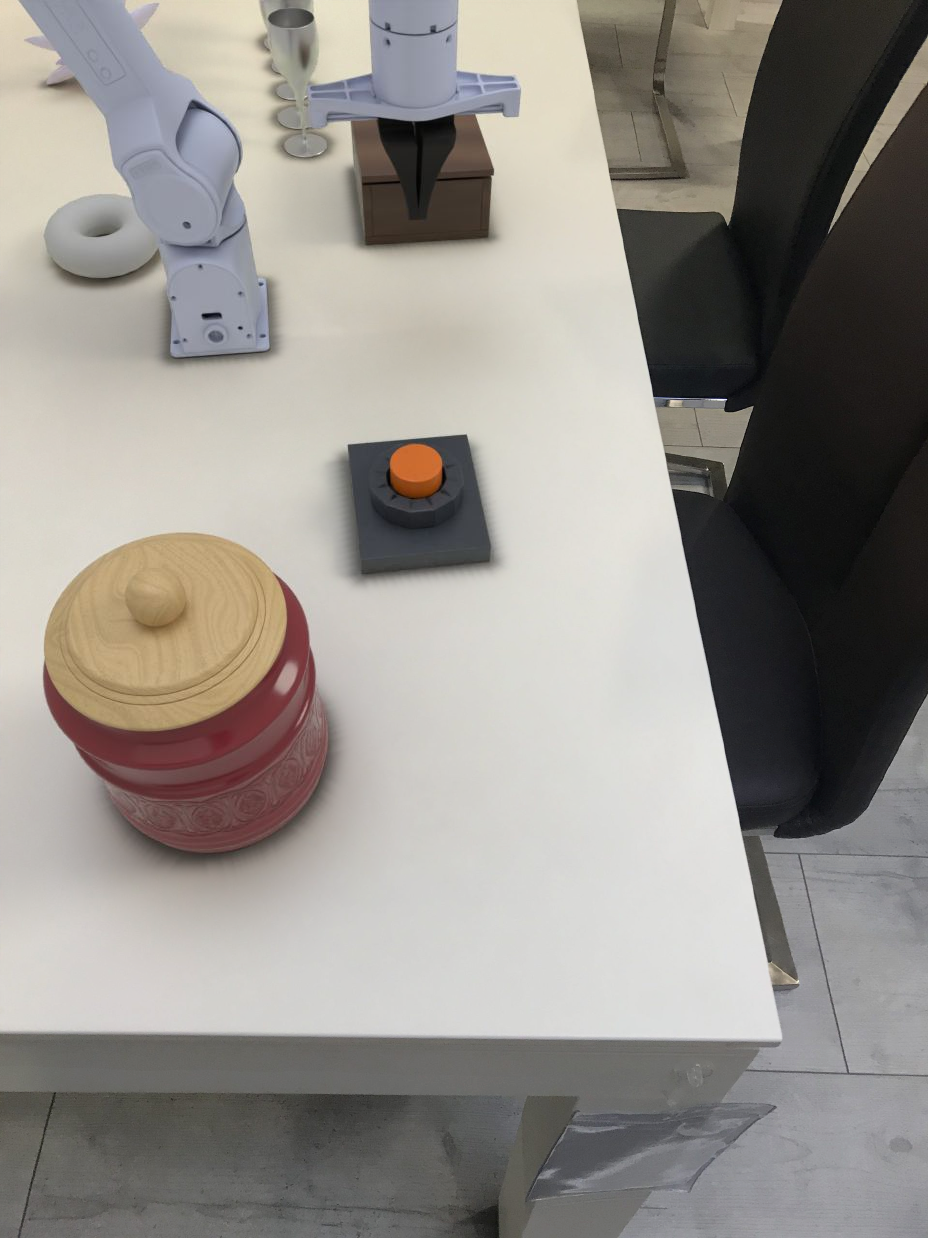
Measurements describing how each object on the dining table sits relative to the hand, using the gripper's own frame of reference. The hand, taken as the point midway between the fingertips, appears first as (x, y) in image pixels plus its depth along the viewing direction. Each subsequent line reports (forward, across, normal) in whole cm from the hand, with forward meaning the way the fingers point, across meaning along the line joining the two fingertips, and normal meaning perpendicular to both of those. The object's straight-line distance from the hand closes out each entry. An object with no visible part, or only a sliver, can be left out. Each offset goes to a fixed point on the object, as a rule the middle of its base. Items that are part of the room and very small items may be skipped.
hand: (416, 212), depth 70 cm
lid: (+4, -3, -18) cm, 19 cm away
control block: (+10, +3, +21) cm, 23 cm away
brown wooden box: (+10, -3, -18) cm, 21 cm away
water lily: (+11, +28, -46) cm, 55 cm away
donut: (+11, +26, -14) cm, 32 cm away
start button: (+7, +3, +21) cm, 22 cm away
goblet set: (+11, +8, -41) cm, 43 cm away
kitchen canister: (+11, +17, +38) cm, 43 cm away
